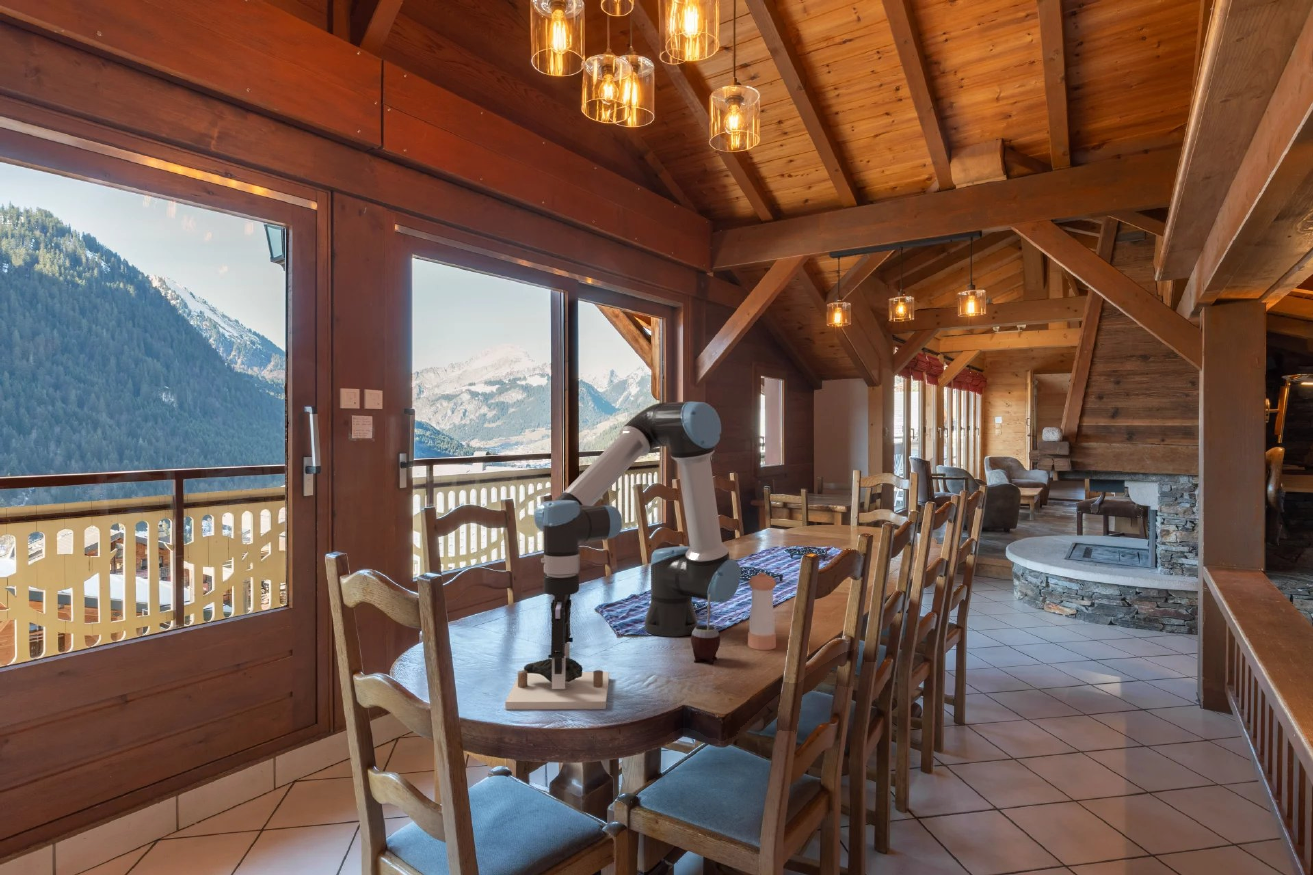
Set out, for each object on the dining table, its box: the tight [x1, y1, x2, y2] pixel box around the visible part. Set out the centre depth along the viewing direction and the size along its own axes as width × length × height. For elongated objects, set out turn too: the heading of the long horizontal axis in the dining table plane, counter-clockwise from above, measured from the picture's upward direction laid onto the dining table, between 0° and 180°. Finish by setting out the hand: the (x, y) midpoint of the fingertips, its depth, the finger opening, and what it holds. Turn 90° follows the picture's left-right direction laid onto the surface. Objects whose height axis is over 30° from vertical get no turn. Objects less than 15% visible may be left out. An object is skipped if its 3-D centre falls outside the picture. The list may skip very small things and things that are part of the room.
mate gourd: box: [690, 594, 721, 666], centre depth 167 cm, size 8×8×15 cm
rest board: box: [504, 669, 610, 710], centre depth 145 cm, size 20×17×4 cm
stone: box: [523, 658, 584, 683], centre depth 145 cm, size 7×13×5 cm, turn 70°
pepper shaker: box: [747, 571, 777, 651], centre depth 178 cm, size 7×7×19 cm
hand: (560, 680), depth 145 cm, fingers closed on stone, 8 cm apart
